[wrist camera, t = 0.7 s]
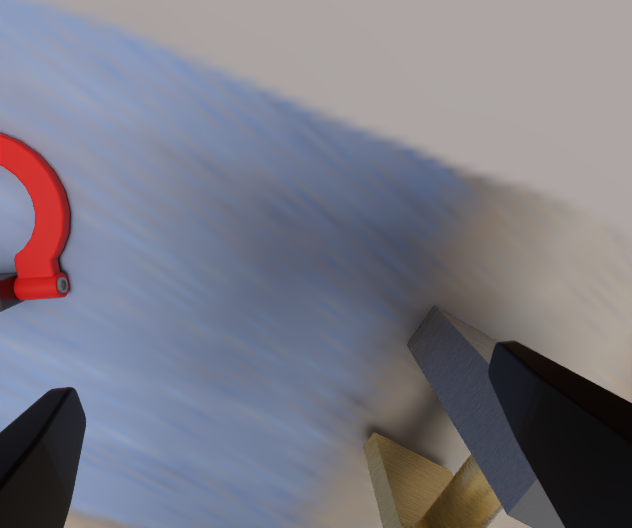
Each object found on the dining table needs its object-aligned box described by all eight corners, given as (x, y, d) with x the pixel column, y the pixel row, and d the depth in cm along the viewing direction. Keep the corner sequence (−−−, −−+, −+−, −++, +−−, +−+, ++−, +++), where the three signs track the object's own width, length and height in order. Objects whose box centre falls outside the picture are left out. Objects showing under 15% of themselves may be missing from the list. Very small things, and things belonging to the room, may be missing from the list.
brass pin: (440, 485, 28) (517, 658, 19) (363, 446, 27) (402, 607, 18) (534, 363, 26) (674, 484, 17) (455, 316, 25) (555, 416, 16)
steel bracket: (508, 402, 28) (682, 603, 16) (407, 345, 27) (507, 515, 14) (536, 365, 28) (740, 542, 15) (434, 305, 26) (564, 445, 14)
